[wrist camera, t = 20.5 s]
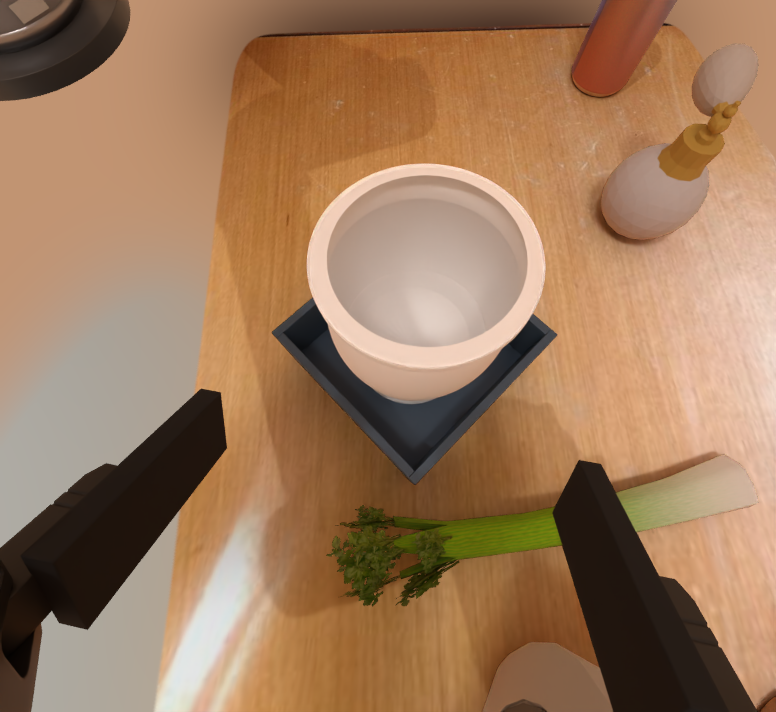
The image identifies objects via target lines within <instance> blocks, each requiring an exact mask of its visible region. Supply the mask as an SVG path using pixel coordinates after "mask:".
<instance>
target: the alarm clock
mask: <svg viewBox="0 0 776 712" xmlns="http://www.w3.org/2000/svg"><path fill="white" fill-rule="evenodd" d="M482 712H613V709H612V706H611V703H610V700H609V696H608V693H607V690H606V687H605V683H604V680H603V677H602V674H601V670H600V668H599V667H597V666H596V665H594V664H592V663H590V662H589V661H587V660H585V659H583V658H582V657H580V656H578V655H576V654H575V653H573V652H571V651H569V650H568V649H566V648H564V647H562V646H560V645H559V644H557V643H548V642H529V643H528V644H526V645H524V646H522V647H521V648H519V649H517V650H515V651H513V652H512V653H510V654H509V655H508V656H507V657H506V658H505V659H504V660H503V661H502V663H501V664H500V665H499V667H498V669H497V671H496V674H495V677H494V680H493V683H492V686H491V688H490V691H489V694H488V697H487V700H486V703H485V706H484V708H483V711H482Z"/></svg>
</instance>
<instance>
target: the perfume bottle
mask: <svg viewBox="0 0 776 712" xmlns="http://www.w3.org/2000/svg"><path fill="white" fill-rule="evenodd" d="M757 71H758V58H757V54H756V53H755V51H754V50H753V49H752V47H750V46H748V45H745V44H731V45H728V46H725V47H722V48H721V49H719V50H717V51H715V52H714V53H713V54H712V55H710V56H709V57H708V58H707V59H706V60H705V61H704V62H703V63H702V64H701V66H700V67H699V69H698V71H697V73H696V75H695V76H694V80H693V84H692V98H693V101H694V104H695V106H696V107H697V108H698V110H699V111H700V112H701V113H703V114H705V115H707V116H711V119H710V120H709V122H708V125H706V124H693V125H691V126H688V127H686V129H685V130H684V131H683V132H682V133H681V134H680V135H679V137H678V138H677V139H676V140H675V141H674V142H673V143H672V144H667V143H664V144H659V145H654V146H649V147H646V148H644V149H642V150H640V151H638V152H636V153H634V154H632V155H631V156H629V157H628V158H626V159H625V160H623V161H622V162H621V163H620V164H619V165H618V166H617V168H616V169H615V170H614V171H613V172H612V173H611V175H610V177H609V178H608V180H607V182H606V184H605V186H604V188H603V193H602V198H601V208H602V213H603V216H604V218H605V220H606V222H607V224H608V225H609V226H610V227H611V228H612V229H613V230H614V231H615V232H616V233H618V234H620V235H623V236H625V237H627V238H631V239H641V240H645V239H653V238H657V237H660V236H664V235H667V234H670V233H672V232H674V231H675V230H677V229H678V228H680V227H682V226H683V225H685V224H686V223H687V222H688V221H689V220H690V219H691V218H692V217H693V216H694V215H695V214H696V213H697V212H698V210H699V209H700V207H701V205H702V204H703V202H704V200H705V198H706V195H707V192H708V188H709V171H708V169H707V167H706V165H707V164H708V163H709V162H710V161H711V160H712V159H713V158H714V157H715V156H716V155H718V154H719V153H720V152H721V150H722V148H723V146H724V144H725V143H724V139H723V136H722V135H721V134H720V133H721V132H723V131H724V130H726V129H727V128H728V126H729V125H730V123H731V117H732V116H734V115H735V114H736V112H737V111H738V106H739V105H740V104H741V101H742V100H743V99H744V98H745V96H746V95H747V94H748V92H749V91H750V89H751V88H752V85H753V83H754V81H755V78H756V75H757Z"/></svg>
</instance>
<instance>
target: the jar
mask: <svg viewBox="0 0 776 712" xmlns="http://www.w3.org/2000/svg"><path fill="white" fill-rule="evenodd" d="M307 276H308V282H309V286H310V290H311V293H312V296H313V299H314V301H315V303H316V305H317V307H318V309H319V311H320V312H321V314H322V316H323V318H324V319H325V321H326V322H327V324H328V328H329V331H330V334H331V337H332V340H333V342H334V345H335V347H336V349H337V351H338V353H339V354H340V356H341V358H342V359H343V361H344V362H345V363H346V365H347V366H348V367H349V369H350V370H351V371H352V372H353V373H354V374H355V375H356V376H357V377H358V378H359V379H360V380H362V381H363V382H364V383H365V384H367V385H368V386H370V387H371V388H373V389H374V390H375V391H376V392H377V393H378V394H380V395H381V396H383V397H385V398H387V399H389V400H391V401H394V402H398V403H403V404H419V403H424V402H428V401H431V400H433V399H435V398H438V397H442V396H445V395H447V394H450V393H452V392H455V391H457V390H459V389H461V388H462V387H464V386H466V385H467V384H469V383H470V382H472V381H473V380H474V379H476V378H477V377H478V376H479V375H480V374H481V373H483V372H484V371H485V370H486V369H487V367H488V366H489V365H490V364H491V363H492V362H493V361H494V359H495V358H496V357H497V355H498V354H499V352H500V351H501V349H502V348H503V347H504V346H506V345H507V344H508V343H509V342H510V341H512V340H513V339H514V338H515V337H516V336H517V334H518V333H519V332H520V331H521V330H522V329H523V327H524V326H525V325H526V323H527V322H528V320H529V319H530V317H531V315H532V314H533V312H534V310H535V308H536V306H537V304H538V302H539V299H540V296H541V293H542V290H543V286H544V280H545V255H544V249H543V245H542V242H541V239H540V236H539V233H538V231H537V229H536V227H535V225H534V223H533V221H532V219H531V218H530V216H529V215H528V213H527V212H526V211H525V209H524V208H523V207H522V206H521V205H520V204H519V202H518V201H517V200H516V199H515V198H514V197H512V196H511V195H510V194H509V193H508V192H507V191H505V190H504V189H503V188H501V187H500V186H498V185H497V184H495V183H494V182H492V181H490V180H488V179H486V178H484V177H482V176H480V175H478V174H476V173H473V172H470V171H467V170H464V169H461V168H457V167H452V166H447V165H439V164H409V165H402V166H397V167H392V168H388V169H385V170H382V171H379V172H376V173H374V174H371V175H369V176H367V177H365V178H363V179H361V180H359V181H357V182H356V183H354V184H353V185H351V186H350V187H348V188H347V189H346V190H344V191H343V192H342V193H341V194H340V195H339V196H337V197H336V198H335V199H334V200H333V201H332V203H331V204H330V205H329V206H328V207H327V209H326V210H325V211H324V213H323V214H322V216H321V217H320V219H319V221H318V222H317V224H316V226H315V229H314V231H313V233H312V236H311V239H310V243H309V247H308V254H307Z"/></svg>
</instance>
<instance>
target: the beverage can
mask: <svg viewBox="0 0 776 712" xmlns="http://www.w3.org/2000/svg"><path fill="white" fill-rule="evenodd" d="M676 2H677V0H602V1H601V4H600V6H599V8H598V10H597V12H596V14H595V17H594V19H593V21H592V23H591V25H590V28H589V30H588V32H587V34H586V37H585V39H584V41H583V43H582V45H581V48H580V50H579V52H578V54H577V57H576V59H575V61H574V63H573V66H572V78H573V82H574V84H575V85H576V87H577V88H578V89H579V90H581V91H582V92H584V93H586V94H588V95H591V96H596V97H605V96H609V95H612V94H614V93H616V92H617V91H619V90H620V89H622V88H623V87H624V86H625V85H626V83H627V82H628V80H629V78H630V77H631V75H632V74H633V72H634V70H635V69H636V67H637V65H638V64H639V62H640V60H641V59H642V57H643V56H644V54H645V52H646V51H647V49H648V47H649V46H650V44H651V42H652V41H653V39H654V38H655V36H656V34H657V33H658V31H659V29H660V28H661V26H662V24H663V23H664V21H665V20H666V18H667V16H668V14H669V13H670V11H671V10H672V8H673V6H674V5H675V3H676Z"/></svg>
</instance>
